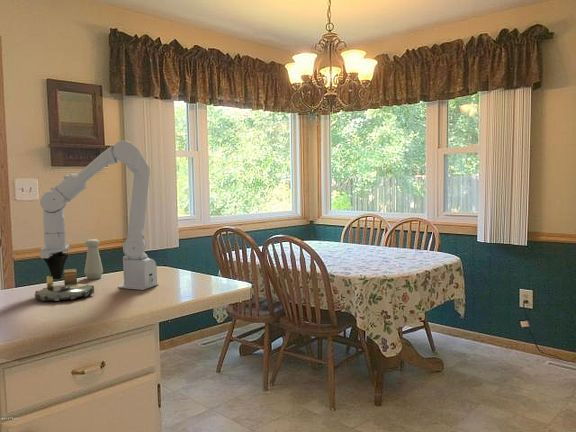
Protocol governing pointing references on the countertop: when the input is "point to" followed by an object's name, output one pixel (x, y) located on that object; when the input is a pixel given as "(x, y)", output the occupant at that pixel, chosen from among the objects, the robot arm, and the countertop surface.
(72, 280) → the link block
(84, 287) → the sprocket
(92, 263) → the salt shaker
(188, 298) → the countertop surface
